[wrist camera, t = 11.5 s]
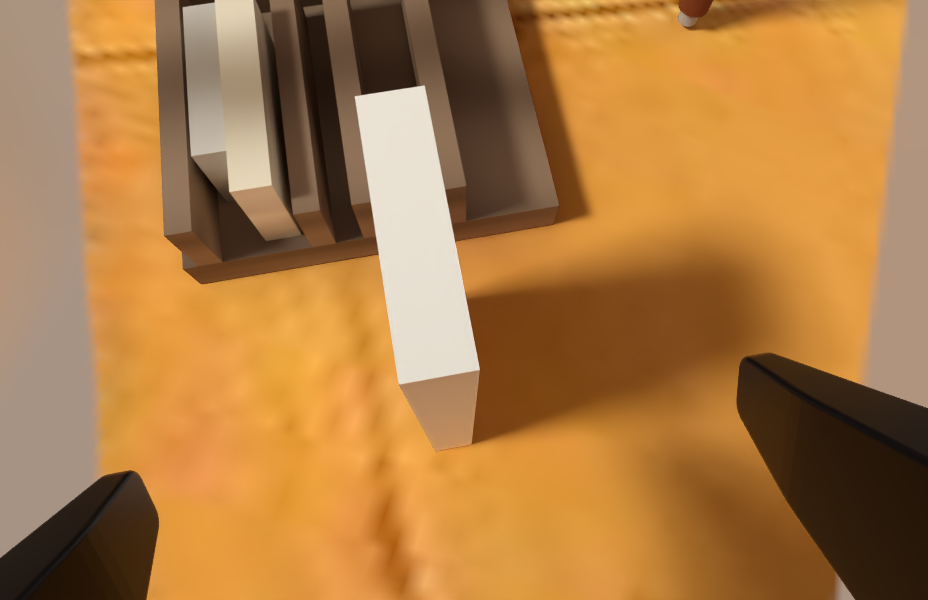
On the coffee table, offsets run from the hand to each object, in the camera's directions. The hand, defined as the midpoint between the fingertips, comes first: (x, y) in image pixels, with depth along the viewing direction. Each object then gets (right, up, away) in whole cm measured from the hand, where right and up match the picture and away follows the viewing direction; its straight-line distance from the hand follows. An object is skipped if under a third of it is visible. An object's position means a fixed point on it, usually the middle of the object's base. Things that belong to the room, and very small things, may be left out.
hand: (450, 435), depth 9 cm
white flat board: (-1, 0, +12) cm, 12 cm away
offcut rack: (-4, +9, +15) cm, 18 cm away
